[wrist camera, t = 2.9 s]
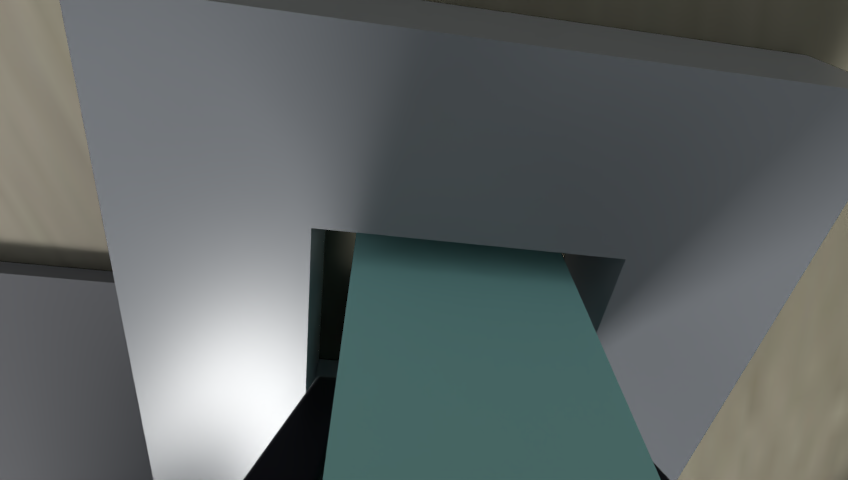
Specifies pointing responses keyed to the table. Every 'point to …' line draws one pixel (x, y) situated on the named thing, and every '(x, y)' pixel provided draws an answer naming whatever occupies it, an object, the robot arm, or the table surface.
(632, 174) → the grey square socket block
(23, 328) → the pad
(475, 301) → the plug
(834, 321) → the table surface
